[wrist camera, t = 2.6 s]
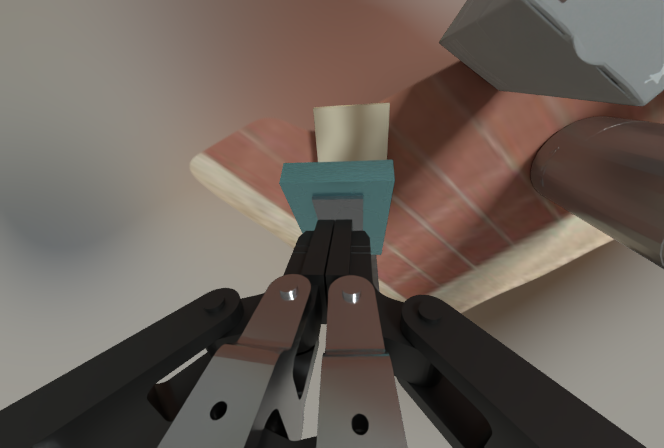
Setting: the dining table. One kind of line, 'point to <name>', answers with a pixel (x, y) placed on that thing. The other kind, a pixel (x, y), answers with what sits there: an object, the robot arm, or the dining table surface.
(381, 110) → the cracker base
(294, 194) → the lever
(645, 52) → the skincare box
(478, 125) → the dining table surface
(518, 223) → the dining table surface
